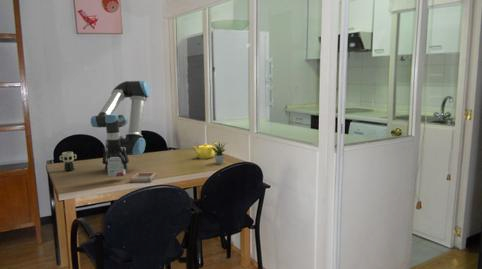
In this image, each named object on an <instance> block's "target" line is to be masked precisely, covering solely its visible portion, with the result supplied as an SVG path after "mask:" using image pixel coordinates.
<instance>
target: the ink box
mask: <svg viewBox="0 0 482 269" xmlns="http://www.w3.org/2000/svg"><path fill="white" fill-rule="evenodd" d="M107 160H108V170H109V175H108V178H113V177H115V178H116V177H123V176H125V174H124V175H123V170H122V164H123V163H122V160H121V158H119V157H111V158H108V159H107V158H106V161H107Z"/></svg>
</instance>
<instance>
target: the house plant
mask: <svg viewBox="0 0 482 269" xmlns="http://www.w3.org/2000/svg"><path fill="white" fill-rule="evenodd" d="M228 143H229V142H222V143H221V142H220V141H218V144H215V142H212V144H213V146H214V145H215V146H216V149H214V148H212V147H213V146H212V147H210V148H211V149H213V150H214V151H215V156H214V160H215V164H217V165H220V164H224V160H225V158H224V157H225V154H224V153H223V152H225V151H226V150H228V149H226V148H225V146H226V145H227V144H228ZM211 151H212V150H211Z"/></svg>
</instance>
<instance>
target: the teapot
mask: <svg viewBox="0 0 482 269" xmlns="http://www.w3.org/2000/svg"><path fill="white" fill-rule="evenodd" d="M214 144H216V145H218V142H214ZM214 144H213V145H212V144H208V143H203V144H202V145H199V146H198V147H197V146H192V147H193V148H194V152H195V155H196V157H197V159H199V160H200V159H201V160H207V159H213V158H215V154H216V152H215V151H214V150H213V149H211V148H210V147H212V148H214V149H216V150H217V148H216V146H215V145H214ZM211 150H212V151H211Z"/></svg>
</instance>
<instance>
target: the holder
mask: <svg viewBox="0 0 482 269" xmlns="http://www.w3.org/2000/svg"><path fill="white" fill-rule="evenodd" d="M157 177H158V174H157V172H152V171H151V172H137V173H136V174H134V175H133V176H132V177H131V178H130V180H129V183H130V182H135V183H152V182H153V181H154V180H155V179H156V178H157ZM135 183H134V184H135Z"/></svg>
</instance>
